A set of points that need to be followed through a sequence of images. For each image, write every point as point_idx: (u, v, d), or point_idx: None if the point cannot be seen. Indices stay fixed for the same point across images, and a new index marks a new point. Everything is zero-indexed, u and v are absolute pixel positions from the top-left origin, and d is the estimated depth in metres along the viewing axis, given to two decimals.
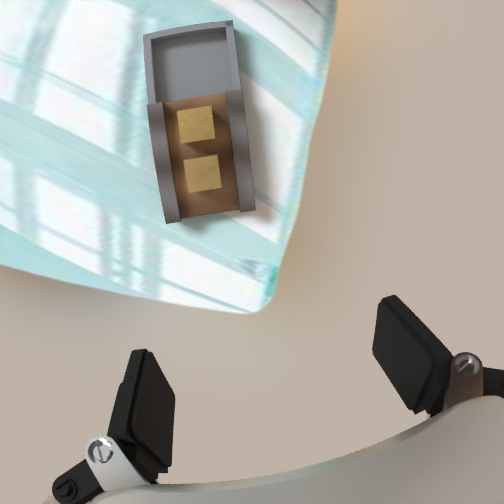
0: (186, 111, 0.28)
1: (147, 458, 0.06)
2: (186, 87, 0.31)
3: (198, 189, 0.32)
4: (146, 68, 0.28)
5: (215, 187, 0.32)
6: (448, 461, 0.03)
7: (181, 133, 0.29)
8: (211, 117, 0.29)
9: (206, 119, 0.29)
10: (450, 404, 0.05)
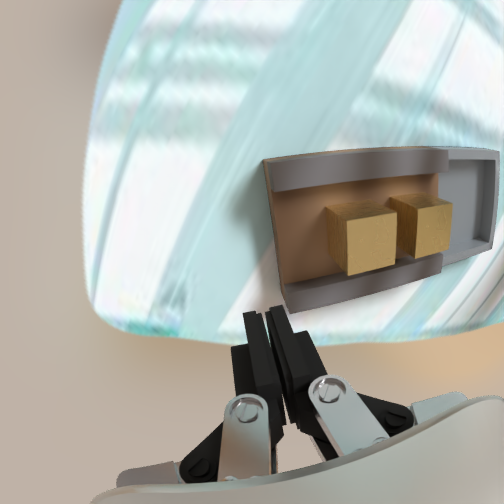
0: (450, 217, 0.18)
1: None
2: (441, 195, 0.23)
3: (350, 238, 0.17)
4: (474, 151, 0.19)
5: (349, 266, 0.18)
6: (448, 461, 0.03)
7: (429, 209, 0.17)
8: (437, 251, 0.19)
9: (436, 244, 0.19)
10: (339, 439, 0.05)
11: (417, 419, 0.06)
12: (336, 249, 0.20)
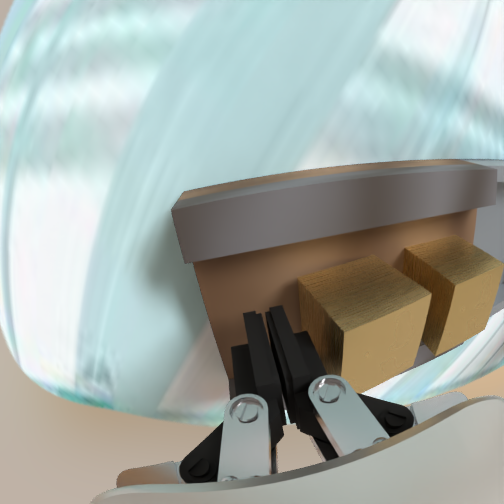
0: (497, 285, 0.09)
1: None
2: (475, 232, 0.14)
3: (348, 357, 0.09)
4: None
5: None
6: (448, 461, 0.03)
7: (472, 282, 0.09)
8: (469, 336, 0.10)
9: (471, 328, 0.10)
10: (339, 439, 0.05)
11: (417, 419, 0.06)
12: None
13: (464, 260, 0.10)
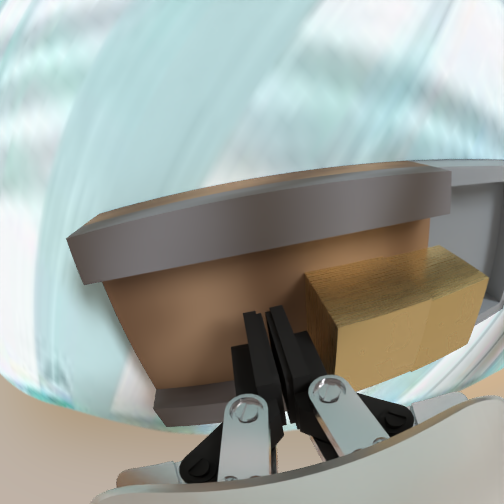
0: (480, 299, 0.09)
1: None
2: (434, 243, 0.14)
3: (342, 353, 0.09)
4: (494, 169, 0.11)
5: None
6: (448, 461, 0.03)
7: (451, 298, 0.09)
8: (449, 351, 0.10)
9: (451, 343, 0.10)
10: (339, 439, 0.05)
11: (417, 419, 0.06)
12: (318, 348, 0.11)
13: (445, 273, 0.10)
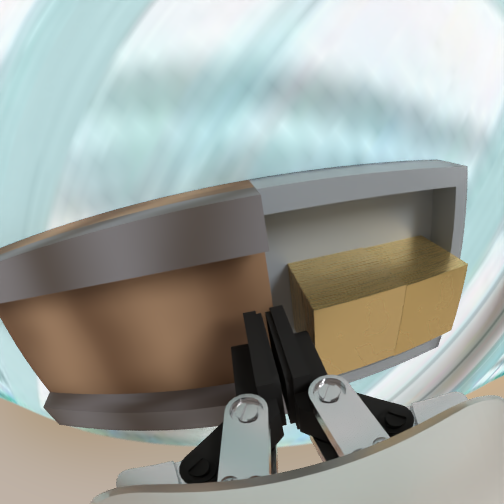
0: (460, 285, 0.10)
1: None
2: None
3: (320, 335, 0.10)
4: (388, 176, 0.10)
5: None
6: (448, 461, 0.03)
7: (427, 283, 0.10)
8: (432, 337, 0.11)
9: (433, 329, 0.11)
10: (339, 439, 0.05)
11: (417, 419, 0.06)
12: None
13: (423, 261, 0.11)
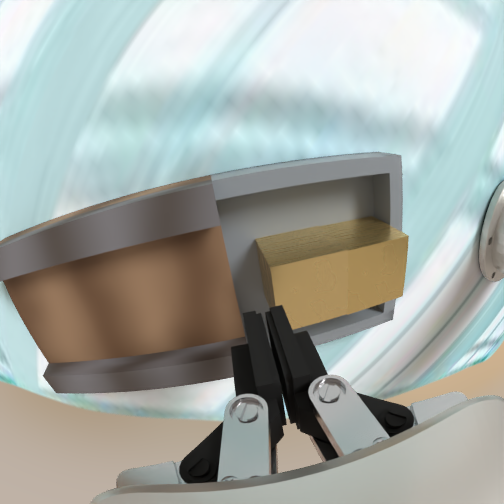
0: (404, 254, 0.14)
1: None
2: None
3: (278, 289, 0.13)
4: (319, 166, 0.14)
5: None
6: (448, 461, 0.03)
7: (368, 249, 0.13)
8: (383, 300, 0.15)
9: (382, 292, 0.15)
10: (339, 439, 0.05)
11: (417, 419, 0.06)
12: (268, 295, 0.16)
13: (367, 233, 0.15)
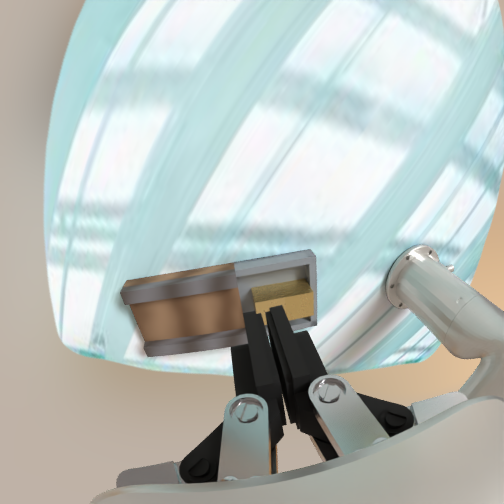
0: (311, 298, 0.37)
1: None
2: None
3: (257, 310, 0.37)
4: (276, 264, 0.37)
5: None
6: (448, 461, 0.03)
7: (293, 297, 0.37)
8: (304, 316, 0.38)
9: (302, 313, 0.38)
10: (339, 439, 0.05)
11: (417, 419, 0.06)
12: None
13: (296, 289, 0.38)
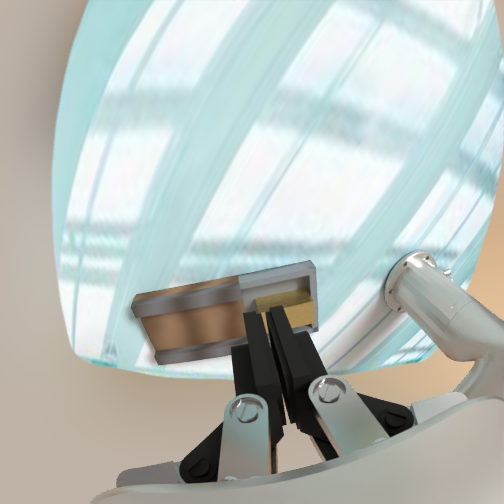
0: (312, 307, 0.39)
1: None
2: None
3: None
4: (278, 276, 0.39)
5: None
6: (448, 461, 0.03)
7: (295, 306, 0.39)
8: (305, 324, 0.40)
9: (304, 321, 0.40)
10: (339, 439, 0.05)
11: (417, 419, 0.06)
12: None
13: (298, 299, 0.40)
